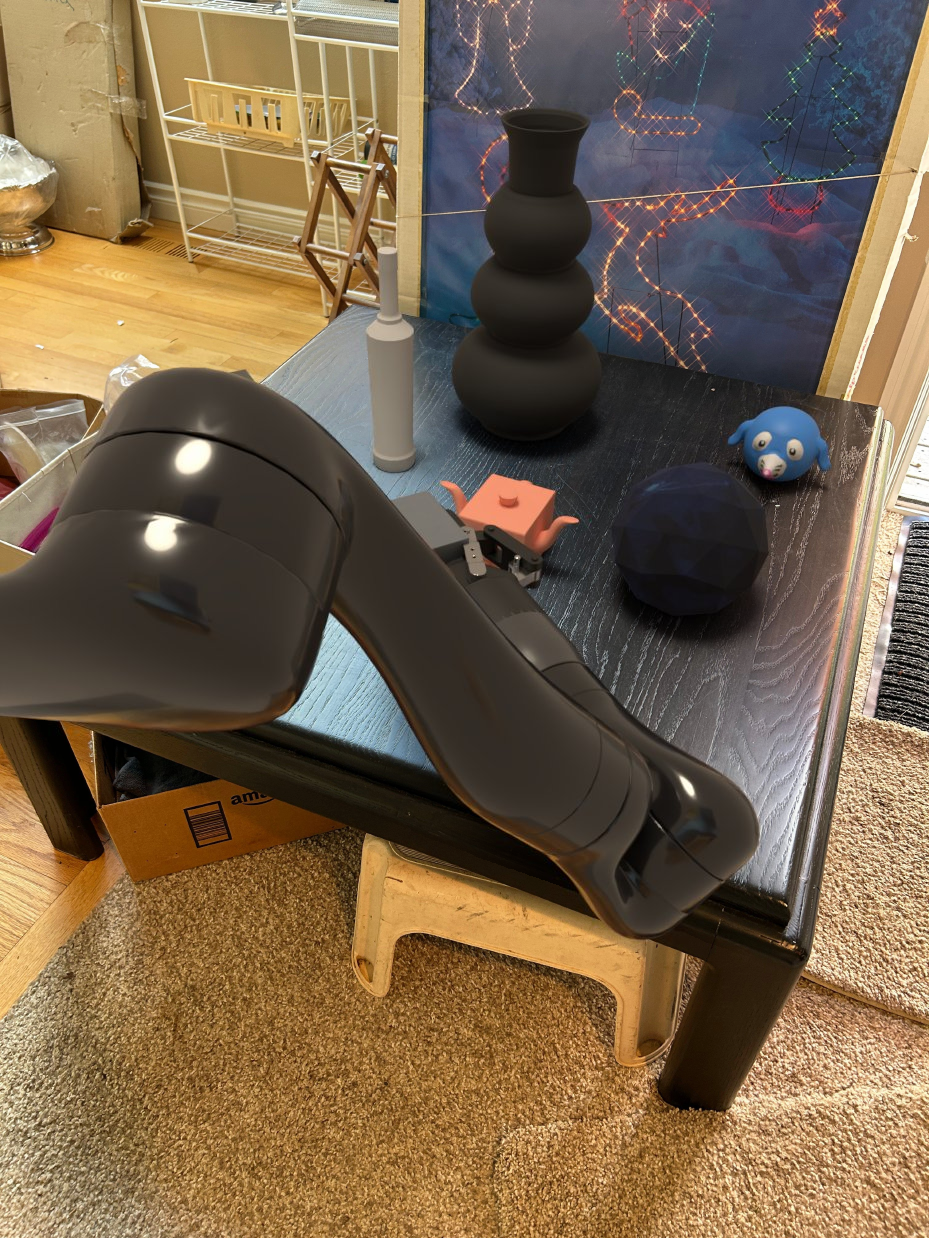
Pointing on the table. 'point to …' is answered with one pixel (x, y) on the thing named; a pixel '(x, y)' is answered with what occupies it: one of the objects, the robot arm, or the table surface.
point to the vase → (532, 289)
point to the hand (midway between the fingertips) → (404, 524)
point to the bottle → (391, 373)
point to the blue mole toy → (782, 444)
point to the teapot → (512, 511)
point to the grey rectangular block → (433, 524)
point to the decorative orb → (690, 539)
